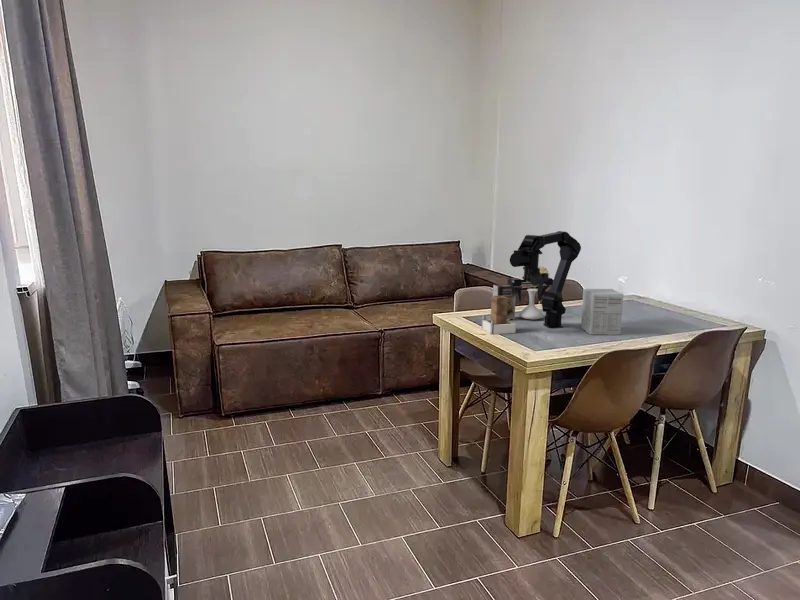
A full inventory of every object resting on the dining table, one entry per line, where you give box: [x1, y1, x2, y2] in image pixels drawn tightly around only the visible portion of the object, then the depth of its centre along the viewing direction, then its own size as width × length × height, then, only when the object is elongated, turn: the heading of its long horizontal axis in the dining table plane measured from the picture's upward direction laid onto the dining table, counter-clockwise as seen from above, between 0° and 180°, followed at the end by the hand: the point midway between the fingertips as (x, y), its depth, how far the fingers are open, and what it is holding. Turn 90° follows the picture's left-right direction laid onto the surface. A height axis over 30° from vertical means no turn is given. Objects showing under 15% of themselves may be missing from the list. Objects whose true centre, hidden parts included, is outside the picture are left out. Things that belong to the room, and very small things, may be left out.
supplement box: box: [580, 288, 625, 336], centre depth 258 cm, size 13×13×18 cm
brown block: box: [490, 295, 508, 325], centre depth 257 cm, size 5×5×14 cm
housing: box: [481, 314, 517, 335], centre depth 258 cm, size 11×11×6 cm
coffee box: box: [492, 283, 517, 320], centre depth 279 cm, size 9×6×16 cm
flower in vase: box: [518, 265, 550, 320], centre depth 280 cm, size 13×11×25 cm
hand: (529, 301), depth 255 cm, fingers open, 9 cm apart
